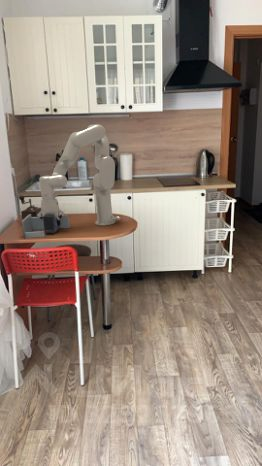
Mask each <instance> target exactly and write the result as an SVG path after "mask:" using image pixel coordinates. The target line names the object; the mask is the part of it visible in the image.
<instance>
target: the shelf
mask: <svg viewBox="0 0 262 466" xmlns="http://www.w3.org/2000/svg"><path fill="white" fill-rule="evenodd" d="M20 223H21V229H22V235H23V239H28V238H29V239H30V238H44V237H45V235H46V233H45V231H44V223H43V221H42V220H41V219H40V218H39V217H31V214H29V215H28V216H27V217H26V218H25V219H23V220H21V222H20ZM60 223H61V224H60V227H61V229H70V227H71V225H70V220H69V215H68V214H65V215H64V214H63V216H62V217H61V218H60ZM40 230H41V231H40Z"/></svg>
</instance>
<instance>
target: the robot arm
mask: <svg viewBox="0 0 262 466" xmlns="http://www.w3.org/2000/svg"><path fill="white" fill-rule="evenodd" d="M109 142H110V141H109V138H108V137H107V135H106V128H105V127H104V126H103V125H102V124H90V125H88V126H87V128H86V129H84V130H81V131H74V132H72V133H71V134H70V136H69V138H68V140H67V143H66V144H65V147H64V150H63V152H62V154H61V156H60V158H59V160H58V161H57V163H56V164H55V166H54V168H53V171H52V174H51V175H43V176H40V177H39V179H38V181H39V186H40V193H41V199H40V208H41V211H40V212H39V213H38V214H37V216H38V217H39V218H40V219H41V220H42V221H43V217H42V216H44V215H55V216H56V218H57V225H58V227H59V226H60V224H61V223H60V218H61V217H62V216H63V215H64V214H65V212H64V211H63V210H62V209H60V206H59V202H58V199H57V198H58V194H56V193H55V189H56V188H58V189H61V188H62V189H63V188H64V187H66V186H67V184H68V179H67V177H66V174H67V172H68V170H69V169H70V167H72V165H74V164H75V163H76V162H77V159H78V156H79V155H80V151H81V149H82V148H84V147H86V146H90V145H92V144H94V166H95V168H96V169H97V170H99V172H98V173H95V175H94V176H93V177H92V186H93V191H94V195H95V197H94V199H95V207H96V217H97V220H96V221H95V225H96V226H110V225H111V226H112V225H113V224H115V223H116V220H117V221H119V220H120V219H121V217H120V216H118V215H115V216H114V214H113V208H112V207H113V206H112V198H111V197H112V196H111V195H112V194H111V189H113V188H114V185H115V180H116V179H115V178H116V177H115V176H116V174H115V173H116V165H115V160H114V158H113V157H112V156H110V143H109ZM41 213H42V216H41V215H40V214H41Z"/></svg>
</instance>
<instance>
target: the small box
mask: <svg viewBox="0 0 262 466" xmlns="http://www.w3.org/2000/svg"><path fill="white" fill-rule="evenodd" d="M43 223H44V230H43V231H44V234H55V233H56V232H57V231H59V230H61V229H62V228H61V227H60V226H59V227H58V225H57V218H56V216H55V215H44V216H43ZM60 228H61V229H60Z"/></svg>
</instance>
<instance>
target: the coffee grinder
mask: <svg viewBox="0 0 262 466" xmlns="http://www.w3.org/2000/svg"><path fill="white" fill-rule="evenodd" d="M18 199H19V200H20V203H21V205H26V204H29V206H28V207H26V208H25V209H23V210H22V211H20V214H21V218H22V220H23V219H25V218H26V217H27V216H28V215H29V214H31V217H38V216H37V214H38V213H39V212H40V211H41V207H38V206H35V205H34V204H32V199H31V198H29V199H28V201H26V200H25V196H24V195H20V196H19V197H18ZM40 215H41V216H42V213H41V214H40ZM42 217H43V216H42ZM22 220H21V221H22Z"/></svg>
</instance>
